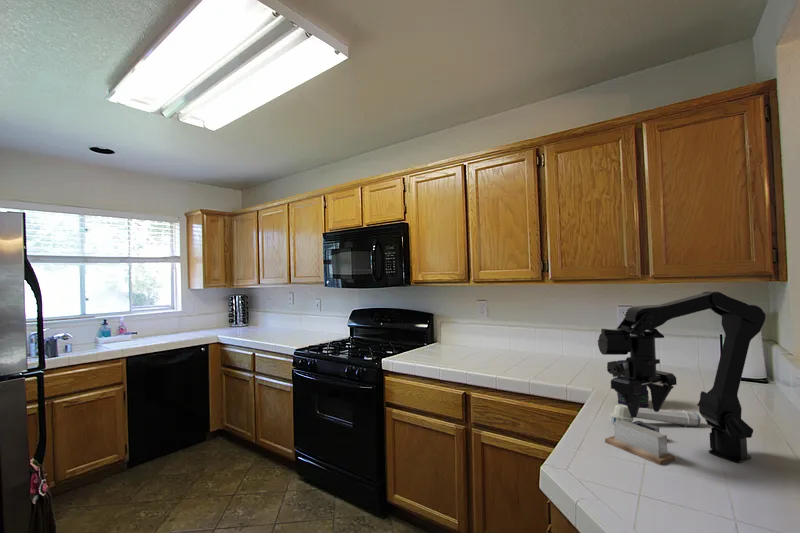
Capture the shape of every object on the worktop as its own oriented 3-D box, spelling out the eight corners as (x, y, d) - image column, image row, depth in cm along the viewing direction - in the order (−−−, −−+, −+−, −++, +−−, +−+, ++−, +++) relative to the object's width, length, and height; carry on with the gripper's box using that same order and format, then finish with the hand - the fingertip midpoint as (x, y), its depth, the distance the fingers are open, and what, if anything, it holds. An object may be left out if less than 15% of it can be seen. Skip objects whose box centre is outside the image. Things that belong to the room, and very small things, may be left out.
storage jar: (611, 402, 142) (609, 361, 142) (629, 398, 146) (627, 359, 146) (637, 410, 133) (635, 367, 133) (655, 406, 137) (653, 364, 137)
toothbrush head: (702, 416, 116) (616, 403, 119) (700, 437, 116) (614, 425, 119) (691, 410, 122) (609, 398, 124) (689, 431, 122) (607, 419, 124)
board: (674, 459, 97) (674, 455, 97) (660, 465, 95) (660, 460, 95) (619, 438, 111) (619, 434, 111) (605, 442, 108) (605, 438, 108)
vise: (659, 439, 109) (659, 427, 109) (640, 445, 105) (639, 433, 105) (639, 432, 114) (638, 420, 114) (619, 438, 111) (619, 425, 111)
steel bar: (667, 455, 98) (666, 435, 98) (658, 458, 96) (657, 437, 96) (623, 437, 108) (622, 419, 109) (614, 440, 107) (613, 422, 107)
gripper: (635, 346, 112) (637, 400, 112) (591, 352, 105) (593, 410, 104) (676, 353, 102) (679, 412, 102) (631, 360, 94) (633, 424, 94)
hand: (645, 414), depth 101 cm, fingers open, 9 cm apart
